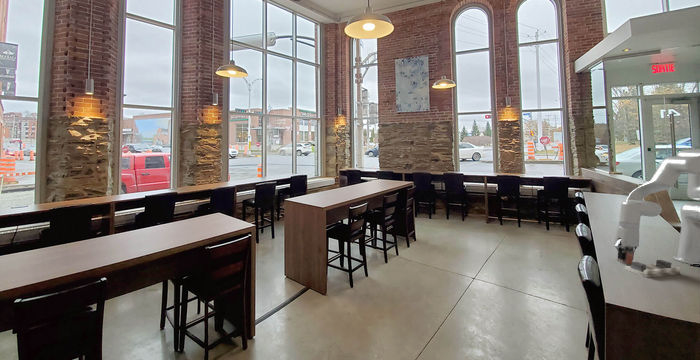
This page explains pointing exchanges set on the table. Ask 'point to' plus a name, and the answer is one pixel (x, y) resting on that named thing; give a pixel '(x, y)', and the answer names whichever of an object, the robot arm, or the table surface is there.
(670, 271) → the white base plate
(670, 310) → the table surface
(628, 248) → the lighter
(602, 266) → the table surface
